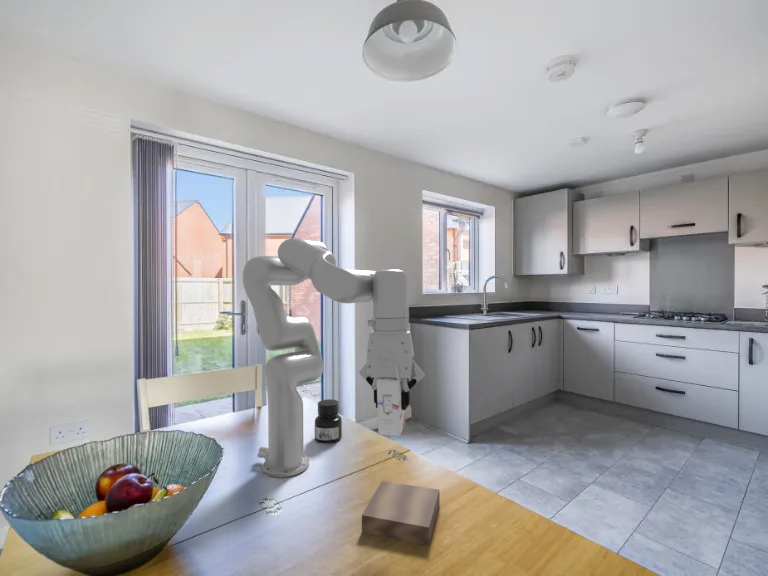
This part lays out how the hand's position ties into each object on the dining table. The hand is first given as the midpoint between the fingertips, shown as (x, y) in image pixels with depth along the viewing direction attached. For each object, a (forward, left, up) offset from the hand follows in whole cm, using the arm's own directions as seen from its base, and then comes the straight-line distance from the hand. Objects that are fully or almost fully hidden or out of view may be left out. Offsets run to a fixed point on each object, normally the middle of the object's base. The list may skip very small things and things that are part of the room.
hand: (392, 406), depth 83 cm
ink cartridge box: (0, 0, -5) cm, 5 cm away
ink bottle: (-31, +33, -24) cm, 52 cm away
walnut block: (+3, -1, -25) cm, 25 cm away
